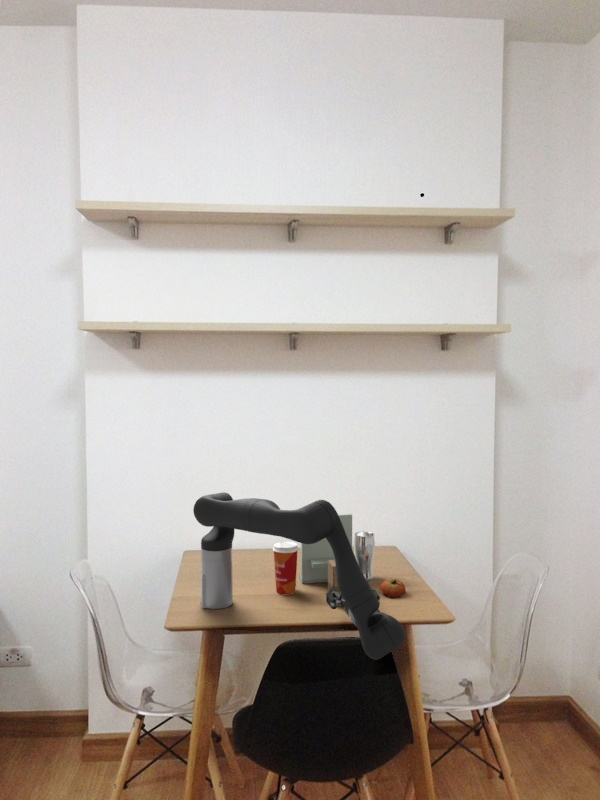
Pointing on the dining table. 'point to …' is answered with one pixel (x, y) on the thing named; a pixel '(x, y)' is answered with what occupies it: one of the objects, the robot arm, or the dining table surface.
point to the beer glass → (364, 552)
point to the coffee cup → (285, 566)
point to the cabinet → (332, 576)
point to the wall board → (321, 555)
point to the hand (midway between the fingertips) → (346, 589)
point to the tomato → (392, 588)
